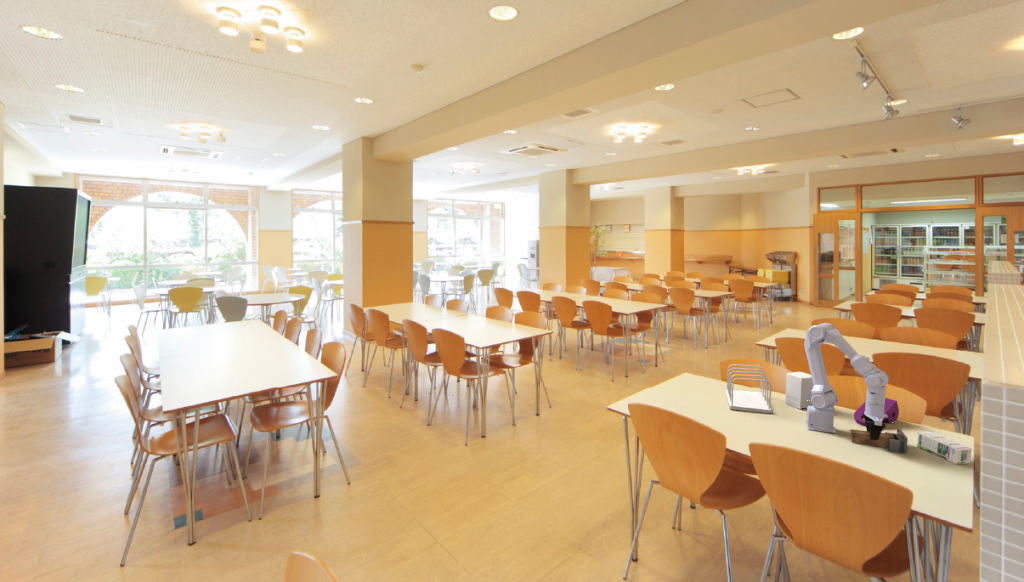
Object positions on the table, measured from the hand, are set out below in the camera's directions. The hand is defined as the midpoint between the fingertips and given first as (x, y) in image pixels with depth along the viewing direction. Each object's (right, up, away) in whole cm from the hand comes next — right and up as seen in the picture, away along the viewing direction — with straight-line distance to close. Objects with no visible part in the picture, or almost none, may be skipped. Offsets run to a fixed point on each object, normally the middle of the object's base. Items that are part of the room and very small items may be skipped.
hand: (872, 436), depth 180 cm
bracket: (+5, -3, -2) cm, 7 cm away
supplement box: (-3, +2, +41) cm, 41 cm away
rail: (0, -3, 0) cm, 3 cm away
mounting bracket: (+17, 0, +21) cm, 27 cm away
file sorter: (-25, +2, +46) cm, 52 cm away
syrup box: (+17, 0, -3) cm, 17 cm away
